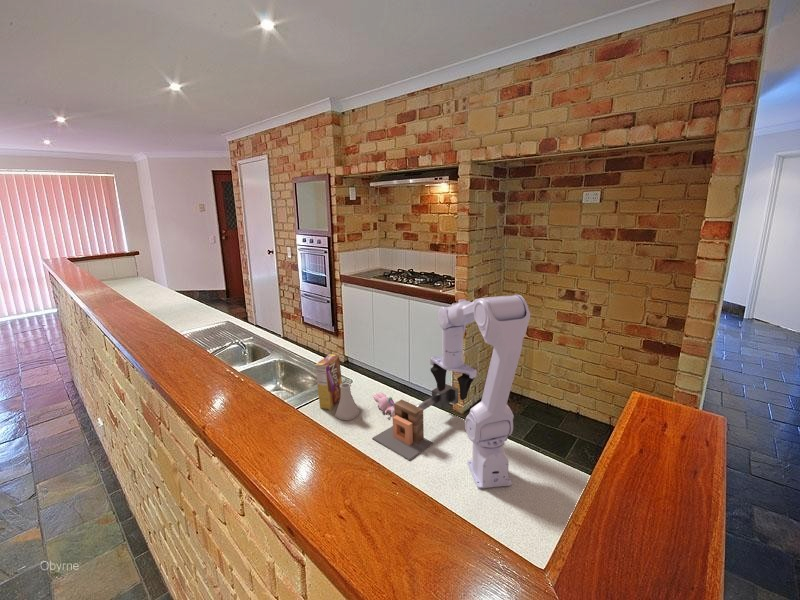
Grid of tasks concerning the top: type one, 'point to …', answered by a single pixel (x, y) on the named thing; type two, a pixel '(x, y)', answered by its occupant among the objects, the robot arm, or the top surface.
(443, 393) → the shaft
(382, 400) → the pink toy animal
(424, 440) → the mat
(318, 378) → the candy box
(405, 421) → the spacer
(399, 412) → the bracket
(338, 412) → the flask
